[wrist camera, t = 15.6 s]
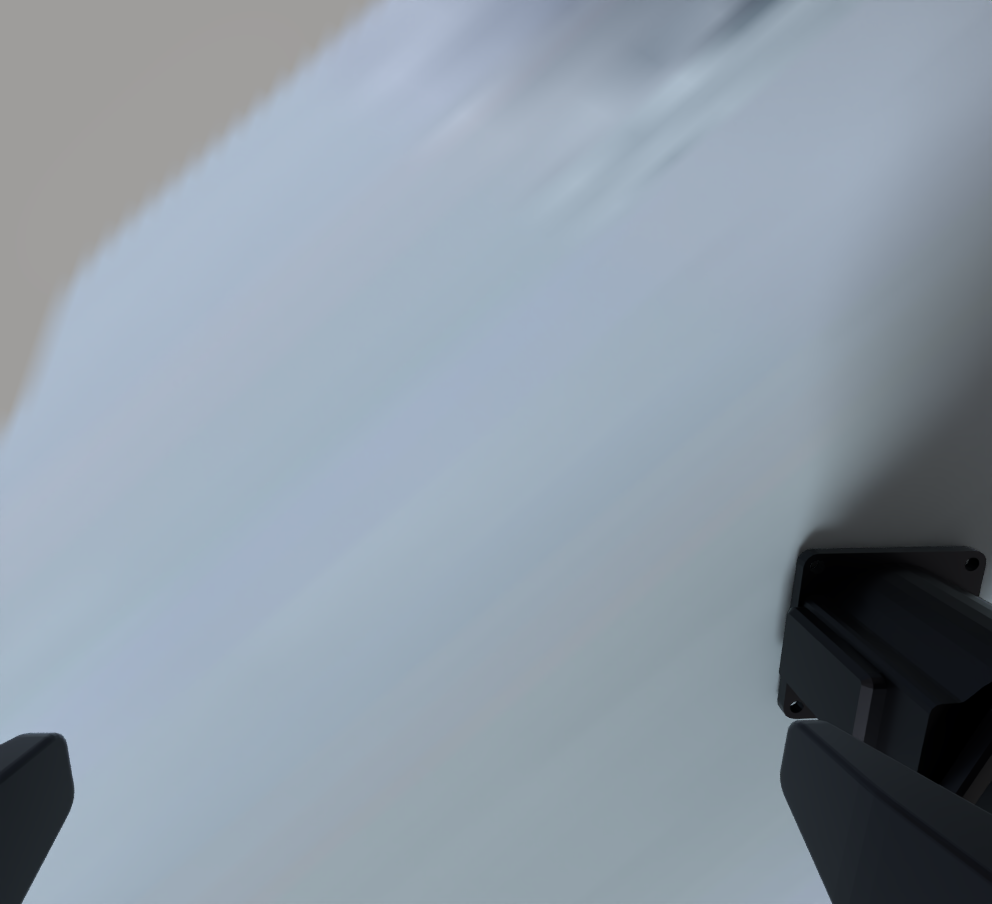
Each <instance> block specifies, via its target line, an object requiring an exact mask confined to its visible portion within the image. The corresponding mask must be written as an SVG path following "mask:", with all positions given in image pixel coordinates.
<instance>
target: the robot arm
mask: <svg viewBox="0 0 992 904" xmlns="http://www.w3.org/2000/svg"><path fill="white" fill-rule="evenodd" d="M968 559H969V561H968V563H967V564H966V565H965V563H966V561H967V560H968ZM817 560H818V563H817V566H815V567H814V568H812V569H810V567H811V564H812V563H813V562H814V561H817ZM985 566H986V558H985V556H984V554H982V553H981V552H979V551H977V550H975V549H973V548H971V547H966V546H952V547H893V548H833V549H809V550H806V551H805V552H803V553H802V554H801V555H800V556H799V557H798V560H797V564H796V571H795V579H794V586H793V593H792V600H791V607H790V610H789V612H788V613H787V618H786V625H785V632H784V640H783V647H782V654H781V661H780V668H779V674H780V676H781V679H780V686H779V693H778V706H779V707H780V709H781V710H782V711H783V713H784V714H785V715H786V716H787V717H789V718H793V719H805V718H818V720H797V721H795V722H792V723H791V725H790V726H789V728H788V732H787V737H786V743H785V748H784V754H783V759H782V765H781V770H780V781H781V787H782V790H783V793H784V796H785V798H786V801H787V803H788V805H789V807H790V810H791V812H792V814H793V816H794V819H795V821H796V823H797V825H798V828H799V830H800V832H801V834H802V837H803V839H804V841H805V843H806V846H807V848H808V850H809V852H810V855H811V857H812V859H813V861H814V864H815V866H816V868H817V870H818V873H819V875H820V877H821V879H822V882H823V884H824V886H825V888H826V891H827V893H828V895H829V897H830V900H831V902H832V904H992V604H991V603H989V602H987V601H985V600H983V599H982V598H980V597H979V593H980V588H981V584H982V579H983V575H984V571H985ZM795 701H797V702H796V703H795V704H794V705H791V704H792V703H793V702H795ZM790 705H791V706H790ZM73 799H74V783H73V777H72V771H71V765H70V759H69V753H68V747H67V742H66V740H65V738H64V737H63V736H62V735H61V734H58V733H27V734H22V735H19V736H17V737H15V738H13V739H11V740H9V741H7V742H5V743H3V744H1V745H0V904H22V902H23V900H24V898H25V896H26V894H27V892H28V890H29V888H30V886H31V885H32V883H33V881H34V879H35V877H36V875H37V873H38V871H39V869H40V867H41V866H42V864H43V862H44V860H45V858H46V856H47V854H48V852H49V850H50V848H51V847H52V845H53V843H54V841H55V839H56V837H57V835H58V833H59V831H60V829H61V828H62V826H63V824H64V822H65V820H66V818H67V816H68V814H69V812H70V809H71V806H72V803H73Z"/></svg>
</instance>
